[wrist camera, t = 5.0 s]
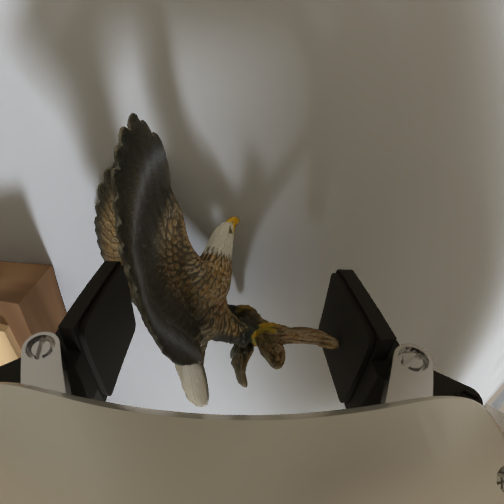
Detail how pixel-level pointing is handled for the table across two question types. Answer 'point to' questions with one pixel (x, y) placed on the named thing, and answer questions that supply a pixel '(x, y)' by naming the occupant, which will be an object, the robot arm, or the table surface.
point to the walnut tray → (27, 305)
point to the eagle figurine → (180, 269)
